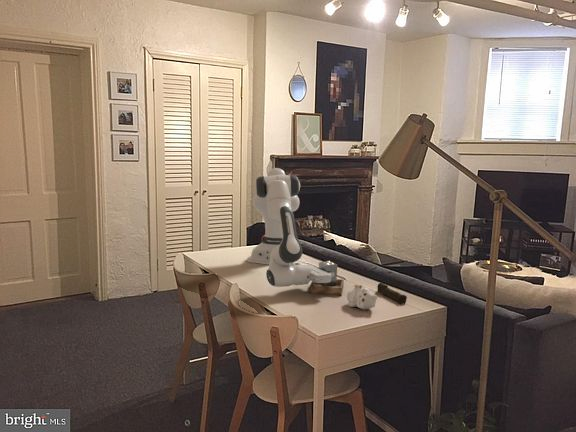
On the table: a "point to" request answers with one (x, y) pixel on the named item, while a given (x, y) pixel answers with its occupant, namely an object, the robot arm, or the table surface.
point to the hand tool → (391, 293)
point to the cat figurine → (361, 298)
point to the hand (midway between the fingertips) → (329, 271)
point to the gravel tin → (329, 268)
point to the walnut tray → (327, 288)
